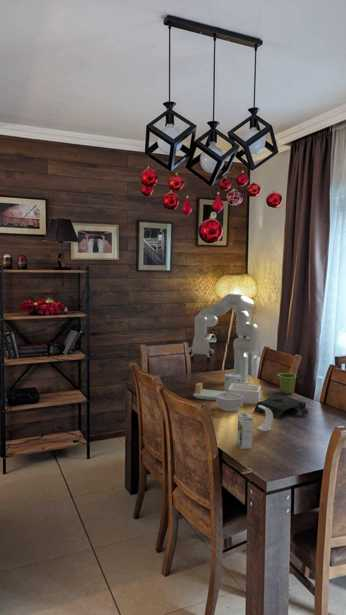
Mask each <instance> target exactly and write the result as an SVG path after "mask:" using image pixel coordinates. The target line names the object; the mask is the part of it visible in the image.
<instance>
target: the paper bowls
mask: <svg viewBox="0 0 346 615" xmlns="http://www.w3.org/2000/svg"><path fill="white" fill-rule="evenodd" d="M215 405H217V407H219V408H220V410H221V411H223V412H229V413H230V412H231V413H232V412H237V411H239V409H240V408H241V407H243V405H244V404H243V396H242V395H240V394H236V393H228V392H226V393H220V394H217V395H216V400H215Z"/></svg>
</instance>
